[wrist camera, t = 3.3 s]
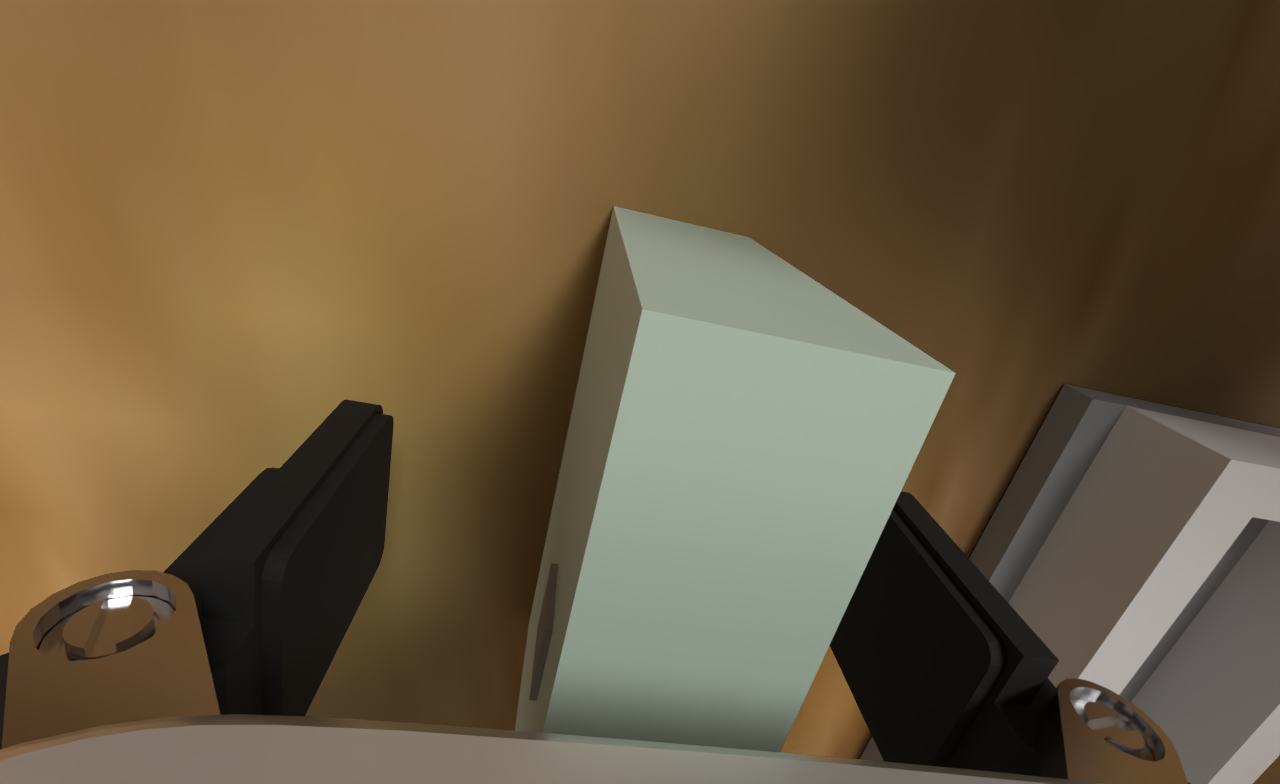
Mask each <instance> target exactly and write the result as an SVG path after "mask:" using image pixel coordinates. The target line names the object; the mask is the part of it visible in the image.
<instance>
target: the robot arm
mask: <svg viewBox="0 0 1280 784" xmlns="http://www.w3.org/2000/svg"><path fill="white" fill-rule="evenodd" d="M392 436H393V417H392V416H390V415H384V414H383V409H382V407H381V405H375V404H369V403H363V402H357V401H351V400H344V401H342V402H341V403H340V404H339V406H338V407H337V408H336V409H335V410H334V411H333V412H332V413H331V414H330V415H329V416H328V417H327V418H326V419H325V421H324V422H323V423H322V424H321V425H320V426H319V427H318V428H317V429H316V430H315V431H314V432H313V433H312V434H311V436H310V437H309V438H308V439H307V440H306V441H305V442H304V443H303V444H302V445H301V446H300V447H299V448H298V449H297V450H296V452H295V453H294V454H293V455H292V456H291V457H290V458H289V459H288V460H287V461H286V462H285V463H284V464H283V465H282V467H281V468H280V469H279V468H267V469H265V470H264V471H263V472H262V473H260V474H259V475H258V476H257V477H256V478H255V479H254V480H253V481H252V482H251V483H250V484H249V485H248V486H247V487H246V489H245V490H244V491H243V492H242V493H241V494H240V495H239V496H238V497H237V498H236V499H235V500H234V501H233V502H232V503H231V504H230V505H229V506H228V507H227V508H226V509H225V510H224V511H223V512H222V513H221V514H220V515H219V516H218V517H217V518H216V519H215V520H214V521H213V522H212V523H211V524H210V525H209V526H208V527H207V528H206V529H205V530H204V531H203V533H202V534H201V535H200V536H199V537H198V538H197V539H196V540H195V541H194V542H193V543H192V544H191V545H190V546H189V547H188V548H187V549H186V550H185V551H184V552H183V553H182V554H181V555H180V556H179V557H178V558H177V559H176V560H175V561H174V562H173V563H172V564H171V565H170V566H169V567H168V568H167V569H166V570H165V571H164V572H163V573H162V572H158V571H142V570H130V571H124V572H117V573H110V574H104V575H101V576H98V577H94V578H91V579H88V580H84V581H81V582H78V583H76V584H74V585H71V586H69V587H67V588H65V589H63V590H61V591H59V592H56V593H54V594H52V595H51V596H49V597H48V598H47V599H45V600H44V601H42V602H41V603H39V604H38V605H36V606H35V607H33V608H32V609H31V610H30V611H29V612H28V613H27V614H26V615H25V617H24V618H23V619H22V620H21V621H20V622H19V623H18V624H17V625H16V628H15V630H14V633H13V636H12V638H11V641H10V649H9V653H7V654H4V655H1V656H0V784H1191V783H1189V782H1188V781H1187V778H1186V775H1185V773H1184V770H1183V767H1182V764H1181V761H1180V758H1179V755H1178V753H1177V751H1176V749H1175V747H1174V745H1173V743H1172V741H1171V740H1170V739H1169V738H1168V736H1167V735H1166V734H1165V733H1164V732H1163V730H1162V729H1161V728H1160V727H1159V726H1158V725H1157V724H1156V723H1155V722H1154V721H1153V720H1152V719H1151V718H1150V717H1149V716H1147V715H1146V714H1145V713H1144V712H1143V711H1142V710H1140V709H1139V708H1137V707H1136V706H1135V705H1133V704H1132V703H1131V702H1129V701H1128V700H1127V699H1125V698H1123V697H1122V696H1120V695H1118V694H1116V693H1115V692H1113V691H1111V690H1109V689H1107V688H1105V687H1103V686H1100V685H1098V684H1096V683H1093V682H1091V681H1087V680H1082V679H1078V678H1071V679H1065V680H1063V681H1062V682H1061V683H1059V685H1058V686H1057V688H1056V687H1055V686H1054V685H1053V684H1052V682H1051V681H1050V680H1049V679H1048V676H1049V675H1050V673H1051V672H1052V670H1053V669H1054V667H1055V666H1056V664H1057V663H1058V661H1059V659H1058V658H1057V657H1056V656H1055V655H1054V654H1053V653H1052V652H1051V650H1050V649H1049V648H1048V647H1047V646H1046V645H1045V644H1044V643H1043V641H1042V640H1041V639H1040V638H1039V637H1038V636H1037V635H1036V634H1035V632H1034V631H1033V630H1032V629H1031V628H1030V627H1029V626H1028V625H1027V623H1026V622H1025V621H1024V620H1023V619H1022V618H1021V617H1020V616H1019V614H1018V613H1017V612H1016V611H1015V610H1014V609H1013V608H1012V607H1011V605H1010V604H1009V603H1008V602H1007V601H1006V600H1005V599H1004V598H1003V596H1002V595H1001V594H1000V593H999V592H998V591H997V590H996V589H995V587H994V586H993V585H992V584H991V583H990V582H989V581H988V580H987V578H986V577H985V576H984V575H983V574H982V573H981V572H980V571H979V569H978V568H977V567H976V566H975V565H974V564H973V563H972V562H971V560H970V559H969V558H968V557H967V556H966V555H965V554H964V553H963V552H962V550H961V549H960V548H959V547H958V546H957V545H956V544H955V543H954V541H953V540H952V539H951V538H950V537H949V536H948V535H947V534H946V532H945V531H944V530H943V529H942V528H941V527H940V526H939V525H938V523H937V522H936V521H935V520H934V519H933V518H932V517H931V516H930V514H929V513H928V512H927V511H926V510H925V509H924V508H923V507H922V505H921V504H920V503H919V502H918V501H917V500H916V499H915V498H914V496H913V495H911V494H910V493H907V492H900V494H899V497H898V499H897V501H896V503H895V505H894V507H893V510H892V512H891V514H890V516H889V518H888V520H887V522H886V525H885V527H884V529H883V531H882V533H881V535H880V538H879V540H878V542H877V544H876V546H875V548H874V550H873V553H872V555H871V557H870V559H869V561H868V563H867V566H866V568H865V570H864V572H863V574H862V576H861V578H860V581H859V583H858V585H857V587H856V589H855V591H854V594H853V596H852V598H851V600H850V602H849V604H848V606H847V609H846V611H845V613H844V615H843V617H842V619H841V622H840V624H839V626H838V628H837V630H836V632H835V634H834V637H833V639H832V641H831V643H830V647H831V649H832V651H833V653H834V655H835V658H836V660H837V662H838V664H839V666H840V668H841V670H842V673H843V675H844V677H845V679H846V681H847V683H848V685H849V688H850V690H851V692H852V694H853V696H854V698H855V700H856V703H857V705H858V707H859V709H860V711H861V713H862V715H863V718H864V720H865V722H866V724H867V726H868V728H869V730H870V733H871V735H872V737H873V739H874V741H875V743H876V745H877V748H878V750H879V752H880V754H881V756H882V758H883V760H884V762H883V761H872V760H861V759H850V758H838V757H827V756H815V755H804V754H792V753H781V752H769V751H758V750H746V749H734V748H723V747H711V746H699V745H687V744H675V743H663V742H652V741H640V740H627V739H615V738H602V737H590V736H577V735H564V734H552V733H539V732H527V731H514V730H501V729H489V728H476V727H464V726H451V725H437V724H422V723H408V722H393V721H378V720H363V719H346V718H328V717H309V716H305V714H306V712H307V710H308V708H309V706H310V704H311V702H312V700H313V698H314V696H315V694H316V692H317V690H318V688H319V686H320V684H321V682H322V680H323V678H324V676H325V674H326V672H327V670H328V668H329V666H330V664H331V662H332V660H333V657H334V655H335V653H336V651H337V649H338V647H339V645H340V643H341V641H342V639H343V637H344V635H345V633H346V631H347V629H348V627H349V625H350V623H351V621H352V619H353V617H354V615H355V613H356V611H357V609H358V607H359V605H360V603H361V601H362V599H363V597H364V595H365V593H366V591H367V589H368V587H369V585H370V582H371V580H372V578H373V576H374V574H375V572H376V570H377V568H378V566H379V564H380V561H381V558H382V554H383V549H384V541H385V528H386V515H387V502H388V488H389V475H390V462H391V449H392Z"/></svg>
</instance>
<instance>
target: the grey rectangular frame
mask: <svg viewBox="0 0 1280 784" xmlns="http://www.w3.org/2000/svg"><path fill="white" fill-rule="evenodd" d="M969 559H970V560H971V562H972V563H973V564H974V565H975V566H976V567H977V568H978V569H979V571H980V572H981V573H982V574H983V575H984V576H985V577H986V578H987V580H988V581H989V582H990V583H991V584H992V585H993V586H994V587H995V589H996V590H997V591H998V592H999V593H1000V594H1001V595H1002V596H1003V598H1004V599H1005V600H1006V601H1007V602H1008V603H1009V604H1010V605H1011V607H1012V608H1013V609H1014V610H1015V611H1016V612H1017V613H1018V614H1019V616H1020V617H1021V618H1022V619H1023V620H1024V621H1025V622H1026V623H1027V625H1028V626H1029V627H1030V628H1031V629H1032V630H1033V631H1034V632H1035V634H1036V635H1037V636H1038V637H1039V638H1040V639H1041V640H1042V641H1043V643H1044V644H1045V645H1046V646H1047V647H1048V648H1049V649H1050V650H1051V652H1052V653H1053V654H1054V655H1055V656H1056V657H1057V658H1058V659H1059V661H1058V663H1057V664H1056V666H1055V667H1054V669H1053V670H1052V672H1051V673H1050V675H1049V676H1048V679H1049V680H1050V681H1051V682H1052V684H1053V685H1054V686H1055V687H1056V688H1057V686H1058V685H1059V683H1061V682H1062V681H1063V680H1065V679H1071V678H1078V679H1082V680H1087V681H1091V682H1093V683H1096V684H1098V685H1100V686H1103V687H1105V688H1107V689H1109V690H1111V691H1113V692H1115V693H1116V694H1118V695H1120V696H1122V697H1123V698H1125V699H1127V700H1128V701H1129V702H1131V703H1132V704H1133V705H1135V706H1136V707H1137V708H1139V709H1140V710H1142V711H1143V712H1144V713H1145V714H1146V715H1147V716H1149V717H1150V718H1151V719H1152V720H1153V721H1154V722H1155V723H1156V724H1157V725H1158V726H1159V727H1160V728H1161V729H1162V730H1163V732H1164V733H1165V734H1166V735H1167V736H1168V738H1169V739H1170V740H1171V741H1172V743H1173V745H1174V747H1175V749H1176V751H1177V753H1178V755H1179V758H1180V761H1181V764H1182V767H1183V770H1184V773H1185V775H1186V778H1187V781H1188V782H1189V783H1191V784H1253V783H1254V782H1255V781H1256V780H1257V779H1258V777H1259V776H1260V775H1261V774H1262V773H1263V772H1264V771H1265V770H1266V769H1267V768H1268V767H1269V766H1270V765H1271V764H1272V763H1273V762H1274V761H1275V759H1276V758H1277V757H1278V756H1279V755H1280V428H1275V427H1270V426H1265V425H1260V424H1256V423H1251V422H1246V421H1241V420H1236V419H1232V418H1227V417H1222V416H1217V415H1212V414H1207V413H1203V412H1198V411H1193V410H1188V409H1183V408H1179V407H1174V406H1169V405H1164V404H1159V403H1154V402H1150V401H1145V400H1140V399H1135V398H1130V397H1126V396H1121V395H1116V394H1111V393H1106V392H1102V391H1097V390H1092V389H1087V388H1082V387H1077V386H1073V385H1068V384H1064V386H1063V387H1062V389H1061V391H1060V393H1059V395H1058V397H1057V398H1056V400H1055V402H1054V404H1053V406H1052V408H1051V409H1050V411H1049V413H1048V415H1047V417H1046V419H1045V420H1044V422H1043V424H1042V426H1041V428H1040V430H1039V431H1038V433H1037V435H1036V437H1035V439H1034V441H1033V442H1032V444H1031V446H1030V448H1029V450H1028V452H1027V453H1026V455H1025V457H1024V459H1023V461H1022V463H1021V464H1020V466H1019V468H1018V470H1017V472H1016V474H1015V475H1014V477H1013V479H1012V481H1011V483H1010V485H1009V486H1008V488H1007V490H1006V492H1005V494H1004V496H1003V497H1002V499H1001V501H1000V503H999V505H998V507H997V508H996V510H995V512H994V514H993V516H992V518H991V519H990V521H989V523H988V525H987V527H986V529H985V530H984V532H983V534H982V536H981V538H980V540H979V541H978V543H977V545H976V547H975V549H974V551H973V552H972V554H971V556H970V558H969ZM860 759H861V760H872V761H883V762H884V760H883V758H882V756H881V754H880V752H879V750H878V748H877V745H876V743H875V741H874V739H873V737H871V739H870V741H869V743H868V745H867V747H866V748H865V750H864V752H863V754H862V756H861V758H860Z"/></svg>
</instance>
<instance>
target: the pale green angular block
mask: <svg viewBox="0 0 1280 784" xmlns="http://www.w3.org/2000/svg"><path fill="white" fill-rule="evenodd" d="M955 374H956V373H955V372H953V371H952V370H950V369H949V368H947V367H946V366H944V365H943V364H941V363H939V362H938V361H936V360H935V359H933V358H932V357H930V356H929V355H927V354H926V353H924V352H923V351H921V350H920V349H918V348H917V347H915V346H914V345H912V344H911V343H909V342H908V341H906V340H905V339H903V338H901V337H900V336H898V335H897V334H895V333H894V332H892V331H891V330H889V329H888V328H886V327H885V326H883V325H882V324H880V323H879V322H877V321H876V320H874V319H873V318H871V317H870V316H868V315H866V314H865V313H863V312H862V311H860V310H859V309H857V308H856V307H854V306H853V305H851V304H850V303H848V302H847V301H845V300H844V299H842V298H841V297H839V296H838V295H836V294H835V293H833V292H832V291H830V290H828V289H827V288H825V287H824V286H822V285H821V284H819V283H818V282H816V281H815V280H813V279H812V278H810V277H809V276H807V275H806V274H804V273H803V272H801V271H800V270H798V269H797V268H795V267H794V266H792V265H790V264H789V263H787V262H786V261H784V260H783V259H781V258H780V257H778V256H777V255H775V254H774V253H772V252H771V251H769V250H768V249H766V248H765V247H763V246H762V245H760V244H759V243H757V242H755V241H754V240H752V239H751V238H749V237H746V236H742V235H737V234H733V233H729V232H724V231H720V230H715V229H711V228H707V227H702V226H698V225H694V224H689V223H685V222H681V221H676V220H672V219H668V218H663V217H659V216H655V215H650V214H646V213H642V212H637V211H633V210H629V209H624V208H620V207H616V206H613V210H612V215H611V220H610V225H609V230H608V235H607V240H606V245H605V250H604V255H603V260H602V265H601V270H600V275H599V280H598V284H597V289H596V294H595V299H594V304H593V309H592V314H591V319H590V324H589V329H588V334H587V339H586V344H585V349H584V354H583V359H582V363H581V368H580V373H579V378H578V383H577V388H576V393H575V398H574V403H573V408H572V413H571V418H570V423H569V428H568V433H567V437H566V442H565V447H564V452H563V457H562V462H561V467H560V472H559V477H558V482H557V487H556V492H555V497H554V502H553V507H552V511H551V516H550V521H549V526H548V531H547V536H546V541H545V546H544V551H543V556H542V561H541V566H540V571H539V576H538V581H537V586H536V590H535V595H534V600H533V605H532V610H531V615H530V620H529V627H528V634H527V642H526V649H525V657H524V664H523V672H522V680H521V687H520V695H519V702H518V710H517V718H516V725H515V731H527V732H539V733H552V734H564V735H577V736H590V737H602V738H615V739H627V740H640V741H652V742H663V743H675V744H687V745H699V746H711V747H723V748H734V749H746V750H758V751H769V752H780V751H781V749H782V746H783V744H784V742H785V740H786V738H787V736H788V733H789V731H790V729H791V727H792V725H793V723H794V721H795V718H796V716H797V714H798V712H799V710H800V708H801V705H802V703H803V701H804V699H805V697H806V695H807V693H808V690H809V688H810V686H811V684H812V682H813V680H814V677H815V675H816V673H817V671H818V669H819V667H820V665H821V662H822V660H823V658H824V656H825V654H826V652H827V650H828V647H829V645H830V643H831V641H832V639H833V637H834V634H835V632H836V630H837V628H838V626H839V624H840V622H841V619H842V617H843V615H844V613H845V611H846V609H847V606H848V604H849V602H850V600H851V598H852V596H853V594H854V591H855V589H856V587H857V585H858V583H859V581H860V578H861V576H862V574H863V572H864V570H865V568H866V566H867V563H868V561H869V559H870V557H871V555H872V553H873V550H874V548H875V546H876V544H877V542H878V540H879V538H880V535H881V533H882V531H883V529H884V527H885V525H886V522H887V520H888V518H889V516H890V514H891V512H892V510H893V507H894V505H895V503H896V501H897V499H898V497H899V494H900V492H901V490H902V488H903V486H904V484H905V482H906V479H907V477H908V475H909V473H910V471H911V469H912V466H913V464H914V462H915V460H916V458H917V456H918V454H919V451H920V449H921V447H922V445H923V443H924V441H925V438H926V436H927V434H928V432H929V430H930V428H931V426H932V423H933V421H934V419H935V417H936V415H937V413H938V410H939V408H940V406H941V404H942V402H943V400H944V398H945V395H946V393H947V391H948V389H949V387H950V385H951V382H952V380H953V378H954V376H955Z"/></svg>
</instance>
